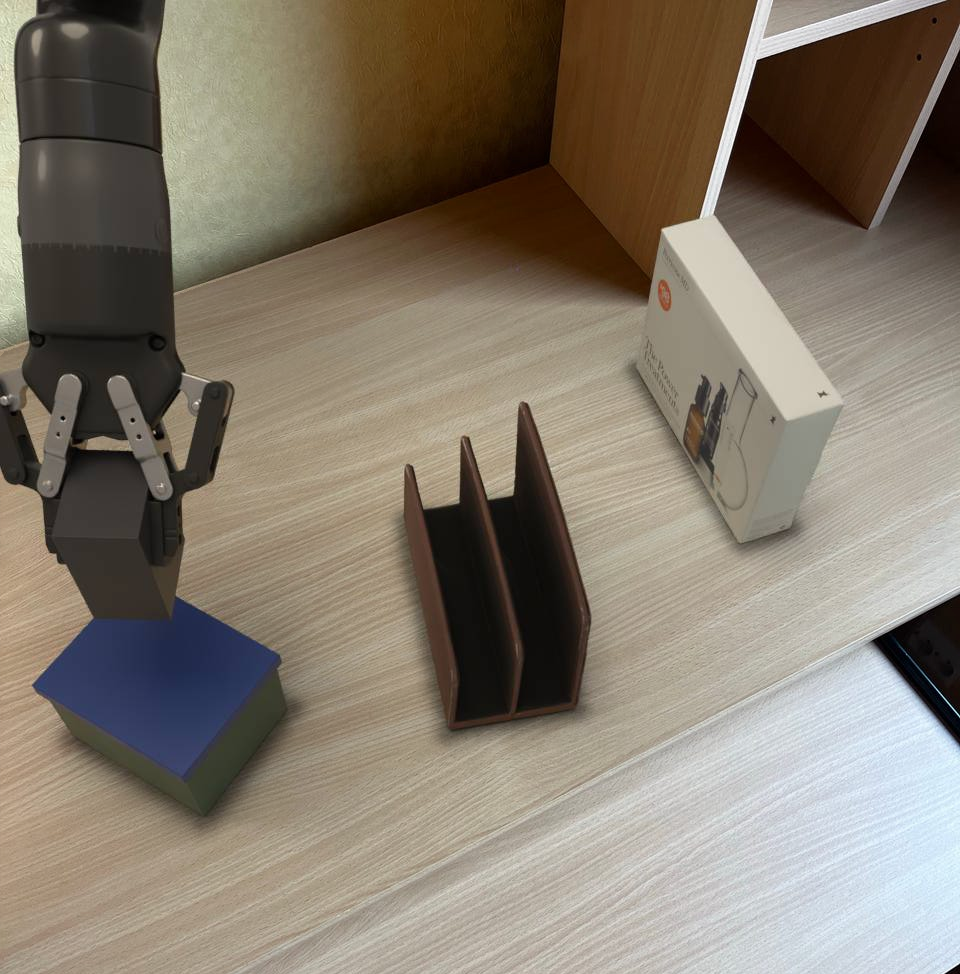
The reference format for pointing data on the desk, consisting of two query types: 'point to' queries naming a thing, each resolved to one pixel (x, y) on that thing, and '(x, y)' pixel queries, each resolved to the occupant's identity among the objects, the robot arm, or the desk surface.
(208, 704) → the container
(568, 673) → the letter holder
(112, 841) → the desk surface
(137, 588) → the case
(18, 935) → the desk surface
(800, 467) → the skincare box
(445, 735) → the desk surface
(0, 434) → the robot arm
